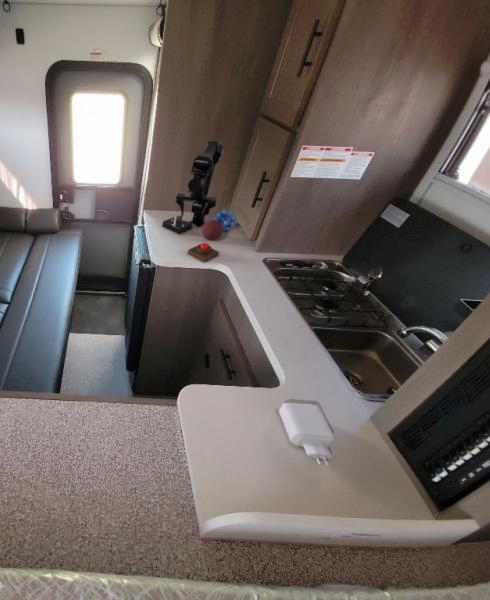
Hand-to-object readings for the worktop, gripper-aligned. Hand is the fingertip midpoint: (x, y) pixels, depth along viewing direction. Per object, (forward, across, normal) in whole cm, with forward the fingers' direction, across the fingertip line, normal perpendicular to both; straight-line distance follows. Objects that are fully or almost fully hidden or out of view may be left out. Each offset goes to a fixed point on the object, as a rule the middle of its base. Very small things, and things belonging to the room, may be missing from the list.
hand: (192, 217), depth 160 cm
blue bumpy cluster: (+12, -17, -15) cm, 26 cm away
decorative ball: (+12, -11, -4) cm, 17 cm away
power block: (+12, -8, +13) cm, 20 cm away
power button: (+9, -8, +13) cm, 18 cm away
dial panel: (+12, +7, -12) cm, 18 cm away
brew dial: (+9, +7, -12) cm, 16 cm away
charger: (+13, -38, +101) cm, 109 cm away
